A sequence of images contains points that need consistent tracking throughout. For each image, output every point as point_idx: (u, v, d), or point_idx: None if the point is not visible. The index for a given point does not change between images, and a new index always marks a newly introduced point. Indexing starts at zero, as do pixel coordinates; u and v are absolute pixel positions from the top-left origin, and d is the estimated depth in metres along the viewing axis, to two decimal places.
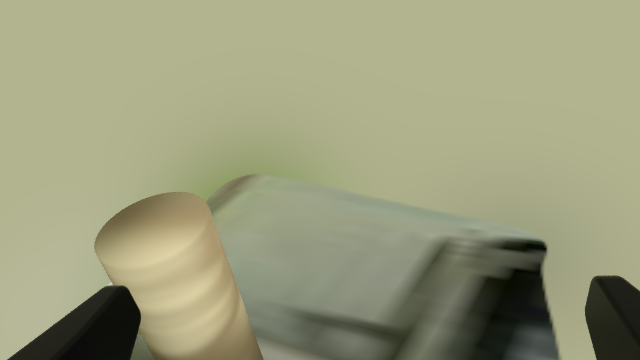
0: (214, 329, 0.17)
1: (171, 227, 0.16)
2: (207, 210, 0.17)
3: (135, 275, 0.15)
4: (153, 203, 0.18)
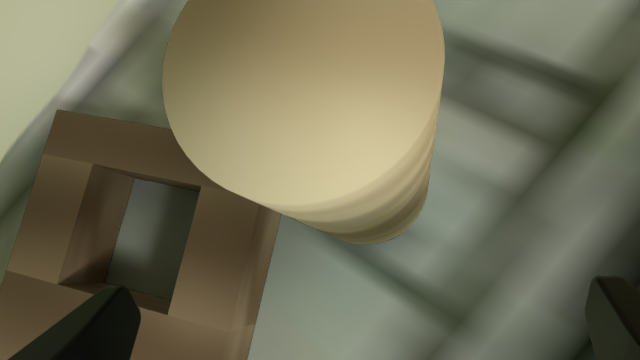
0: (397, 209, 0.10)
1: (344, 74, 0.06)
2: (436, 26, 0.06)
3: (279, 207, 0.07)
4: None
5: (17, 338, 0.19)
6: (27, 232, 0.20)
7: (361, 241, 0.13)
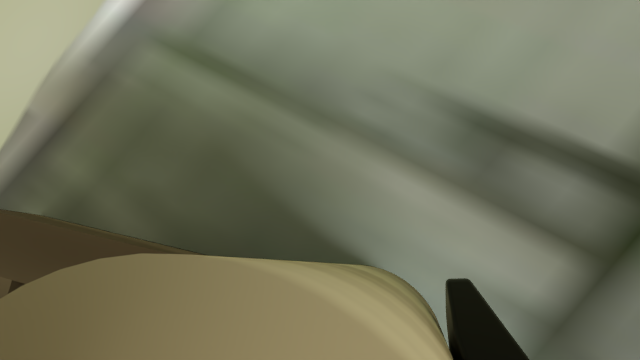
0: None
1: None
2: None
3: None
4: None
5: None
6: None
7: None
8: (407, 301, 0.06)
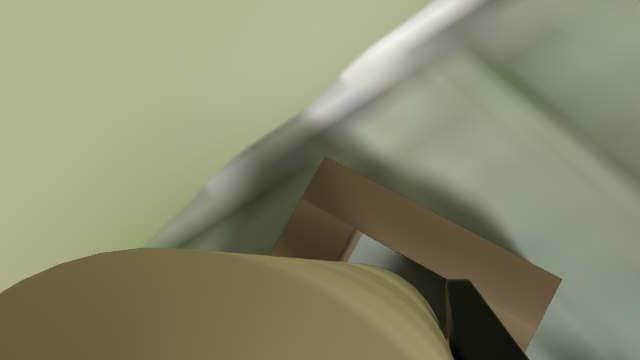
0: None
1: None
2: None
3: None
4: (102, 355, 0.03)
5: None
6: None
7: None
8: (407, 299, 0.06)
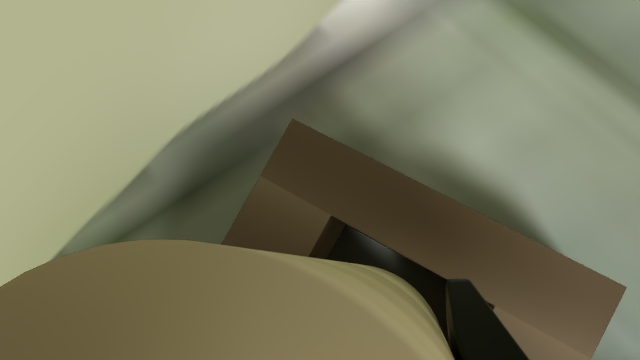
0: None
1: None
2: None
3: None
4: (103, 345, 0.03)
5: None
6: None
7: None
8: (407, 297, 0.06)
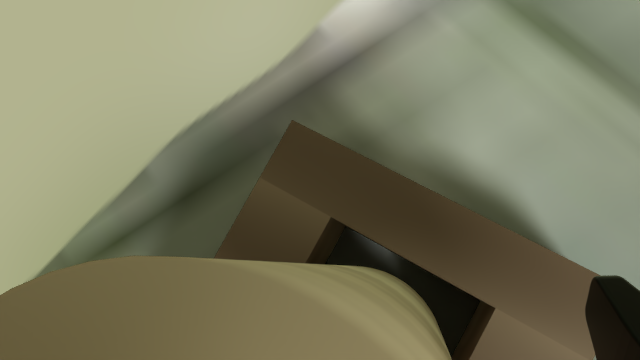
0: None
1: None
2: None
3: None
4: None
5: None
6: None
7: None
8: (406, 303, 0.06)
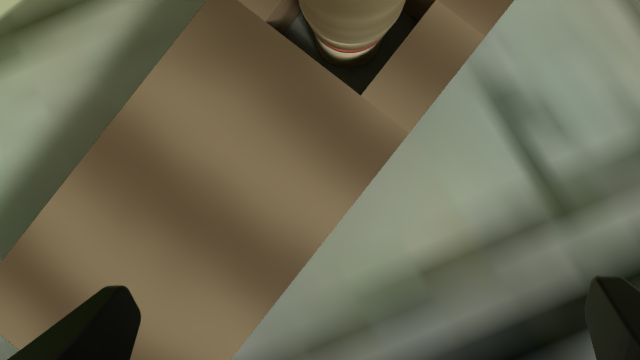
0: None
1: None
2: None
3: None
4: None
5: (210, 52, 0.20)
6: None
7: (345, 30, 0.16)
8: None
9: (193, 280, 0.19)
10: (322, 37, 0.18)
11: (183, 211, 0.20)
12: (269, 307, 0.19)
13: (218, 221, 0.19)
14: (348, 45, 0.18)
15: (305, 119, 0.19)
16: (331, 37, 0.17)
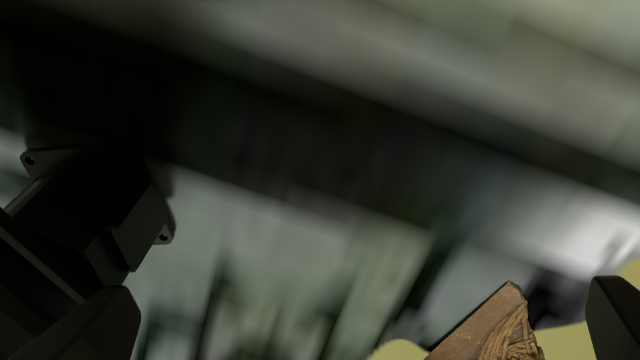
0: None
1: None
2: None
3: None
4: None
5: None
6: None
7: None
8: None
9: None
10: None
11: None
12: None
13: None
14: None
15: None
16: None
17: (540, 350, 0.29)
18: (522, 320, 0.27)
